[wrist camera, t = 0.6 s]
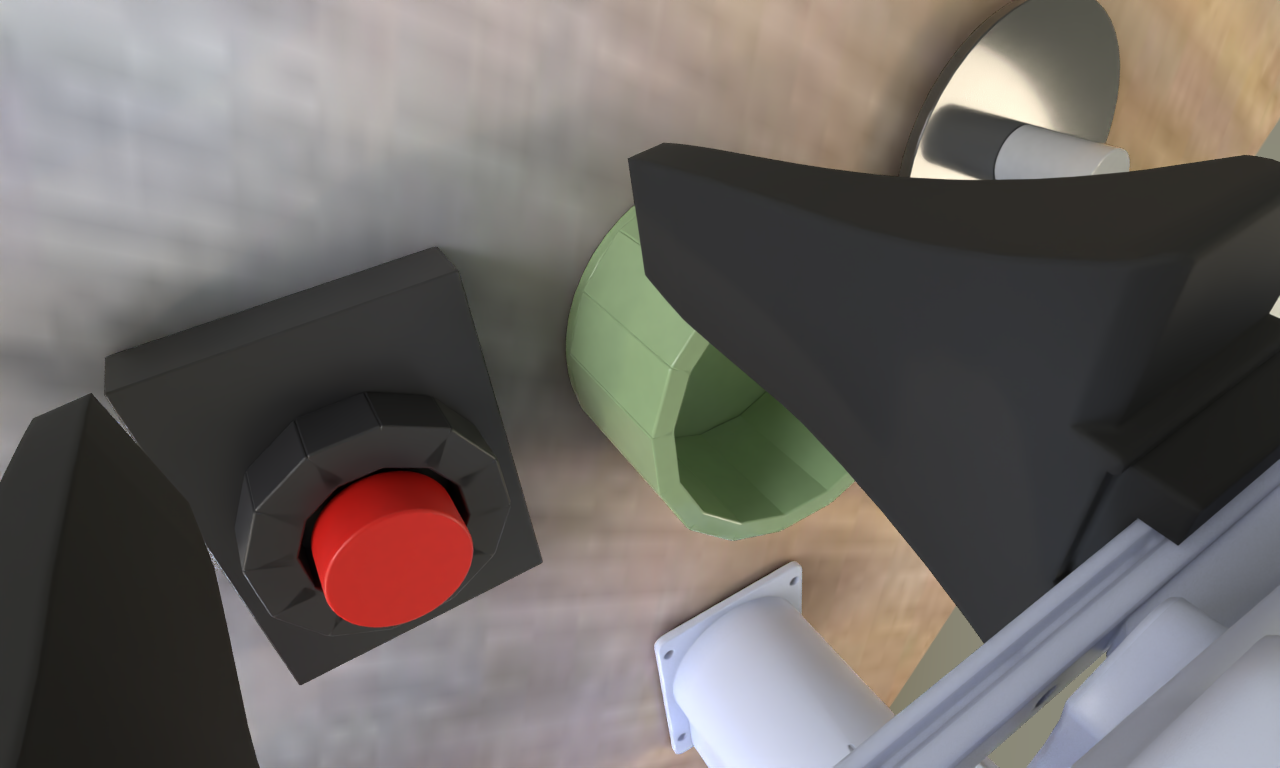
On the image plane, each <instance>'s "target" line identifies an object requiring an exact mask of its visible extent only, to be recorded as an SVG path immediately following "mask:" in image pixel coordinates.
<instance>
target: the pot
mask: <svg viewBox="0 0 1280 768" xmlns="http://www.w3.org/2000/svg"><path fill="white" fill-rule="evenodd" d="M566 361H567V368H568V375H569V378H570V381H571V385H572V388H573V391H574V393H575V395H576V397H577V399H578V401H579V403H580V406H581V407H582V409H583V410H584V412H585V413H586V414H587V415H588V416H589V418H590V419H591V420H592V421H593V422H594V423H595V424H596V426H597V427H598V428H599V429H600V430H601V431H602V433H603V434H604V435H605V436H606V437H607V438H608V440H609V441H610V442H611V443H612V444H613V445H614V446H615V448H616V449H617V450H618V451H619V452H620V453H621V454H622V455H623V457H624V458H625V459H626V460H627V461H628V462H629V463H630V464H631V466H632V467H633V468H634V469H635V470H636V471H637V472H638V474H639V475H640V476H641V477H642V478H643V479H644V480H645V481H646V483H647V484H648V485H649V486H650V487H651V488H652V489H653V490H654V492H655V493H656V494H657V495H658V496H659V497H660V498H661V499H662V501H663V502H664V503H665V504H666V505H667V506H668V507H669V509H670V510H671V511H672V512H673V513H674V514H675V515H676V516H677V518H678V519H679V520H680V521H681V522H682V523H683V524H684V525H685V527H686V528H688V529H689V530H692V531H696V532H700V533H703V534H707V535H711V536H715V537H719V538H723V539H726V540H730V541H732V540H733V541H735V540H740V539H745V538H750V537H755V536H760V535H765V534H770V533H775V532H780V531H781V530H784V529H786V528H788V527H789V526H791V525H793V524H795V523H797V522H798V521H800V520H802V519H804V518H806V517H807V516H809V515H811V514H813V513H815V512H816V511H818V510H820V509H822V508H824V507H825V506H827V505H829V504H830V502H833V501H834V500H835V499H836V498H837V497H838V496H840V495H841V494H842V493H843V492H844V491H845V490H846V489H847V488H848V487H849V486H850V485H852V484H853V483H854V482H855V480H854V479H853V478H852V477H851V476H850V474H849V473H848V472H847V471H846V470H845V469H844V468H843V466H842V465H841V464H840V463H839V462H838V461H837V460H836V459H835V458H834V457H833V456H832V455H831V454H830V452H829V451H828V450H827V449H826V448H825V447H824V446H823V445H822V444H821V443H820V442H819V441H818V440H817V439H816V437H815V436H814V435H813V434H812V433H811V432H810V431H809V430H808V429H807V428H806V427H805V426H804V425H803V424H802V423H801V422H800V421H799V420H798V419H797V418H796V417H795V416H794V415H793V414H792V413H791V412H790V411H788V410H787V409H786V408H785V407H784V406H783V405H782V404H781V403H780V402H778V401H777V400H776V399H775V398H774V397H773V396H771V395H770V394H769V393H768V392H767V391H766V390H764V389H763V388H762V387H761V386H760V385H758V384H757V383H756V382H755V381H754V380H753V379H751V378H750V377H749V376H748V375H747V374H746V373H744V372H743V371H742V370H741V369H740V368H738V367H737V366H736V365H735V364H734V363H733V362H731V361H730V360H729V359H728V358H727V357H725V356H724V355H723V354H722V353H721V352H720V351H718V350H717V349H716V348H715V347H714V346H713V345H712V344H710V343H709V342H708V341H707V340H706V339H705V338H703V337H702V336H701V335H700V334H699V333H698V332H697V331H695V330H694V329H693V328H692V327H691V326H690V325H689V324H688V323H686V322H685V321H684V320H683V319H682V318H681V317H680V315H679V314H678V313H677V312H676V311H675V310H674V309H673V308H672V306H671V305H670V304H669V303H668V302H667V301H666V300H665V299H664V297H663V296H662V295H661V294H660V293H659V291H658V290H657V289H656V288H655V287H654V285H653V284H652V283H651V282H650V281H649V279H648V278H647V277H646V276H645V272H644V265H643V258H642V251H641V245H640V238H639V231H638V224H637V217H636V211H635V205H634V206H633V207H632V208H631V209H629V210H628V211H627V212H626V213H625V214H624V215H623V216H622V217H621V218H620V219H619V220H618V222H617V223H616V224H615V225H614V226H613V227H612V229H611V230H610V231H609V232H608V233H607V235H606V236H605V237H604V239H603V240H602V242H601V243H600V245H599V246H598V248H597V249H596V251H595V252H594V254H593V255H592V257H591V259H590V261H589V263H588V265H587V267H586V268H585V270H584V272H583V274H582V276H581V279H580V282H579V284H578V287H577V289H576V292H575V294H574V298H573V301H572V305H571V309H570V313H569V317H568V324H567V332H566Z"/></svg>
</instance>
